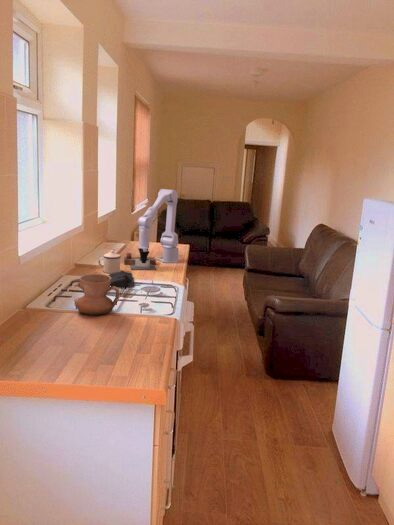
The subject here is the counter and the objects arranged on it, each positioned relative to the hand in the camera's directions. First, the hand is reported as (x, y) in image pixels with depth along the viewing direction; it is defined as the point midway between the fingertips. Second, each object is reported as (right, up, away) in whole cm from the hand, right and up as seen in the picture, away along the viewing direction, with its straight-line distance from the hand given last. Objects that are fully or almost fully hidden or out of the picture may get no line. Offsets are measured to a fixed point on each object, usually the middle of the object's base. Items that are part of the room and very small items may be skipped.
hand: (143, 262), depth 254 cm
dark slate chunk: (-8, -10, -29) cm, 32 cm away
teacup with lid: (-17, -5, -11) cm, 21 cm away
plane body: (-4, -1, +12) cm, 12 cm away
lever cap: (-1, -3, +2) cm, 3 cm away
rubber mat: (0, -3, +1) cm, 4 cm away
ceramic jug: (-10, -20, -75) cm, 78 cm away
